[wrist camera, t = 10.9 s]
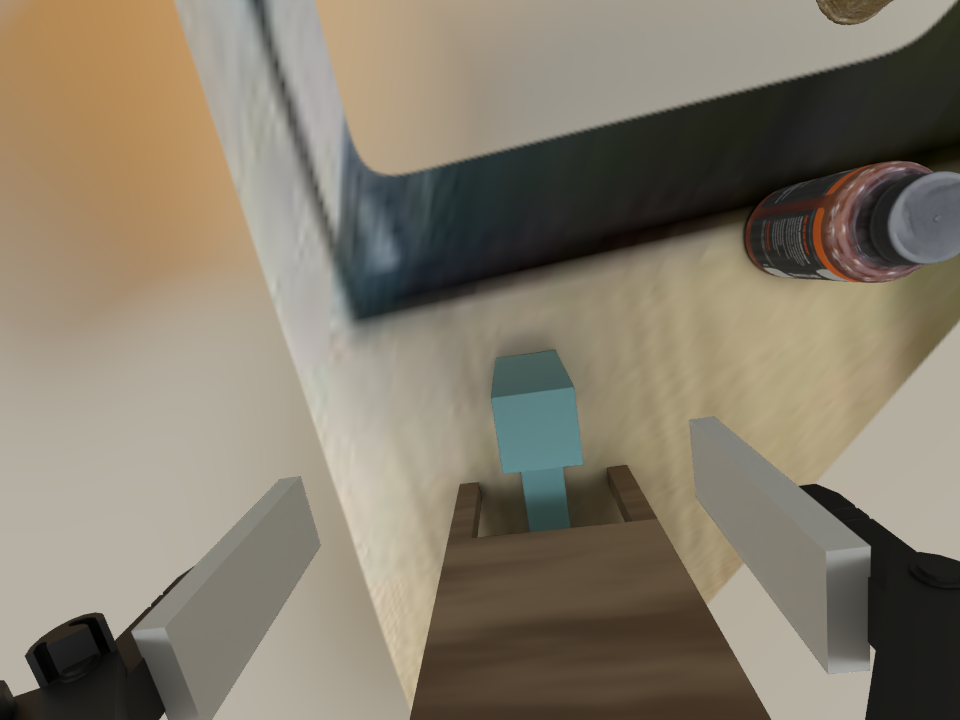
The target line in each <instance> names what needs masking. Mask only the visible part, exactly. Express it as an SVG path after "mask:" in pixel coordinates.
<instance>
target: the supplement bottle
mask: <svg viewBox="0 0 960 720" xmlns="http://www.w3.org/2000/svg"><path fill="white" fill-rule="evenodd" d="M745 239H746V247H747V251H748V253H749V255H750V257H751V259H752V261H753V262H754V263H755V264H756V265H757V266H758V267H759V268H760V269H762V270H763V271H765V272H766V273H769V274H771V275H775V276H779V277H786V278H795V279H796V278H799V279H819V280H832V281H845V282H864V283H877V282H887V281H892V280H896V279H899V278H902V277H905V276H907V275H909V274H911V273H913V272H915V271H916V270H918V269H920V268H921V267H922V266H923V265H924V264H935V263H939V262H942V261H946V260H948V259H950V258H952V257H954V256H955V255H957V254H959V253H960V174H958V173H953V172H948V171H945V172H932V171H931V170H929V169H928V168H926V167H924V166H921V165H919V164H916V163H912V162H904V161H891V162H883V163H878V164H873V165H869V166H865V167H860V168H857V169H853V170H849V171H845V172H841V173H837V174H833V175H830V176H826V177H822V178H818V179H814V180H810V181H806V182H803V183H798V184H795V185H791V186H788V187H785V188H782V189H780V190H778V191H775V192H773V193H772V194H770V195H769V196H767V197H766V198H765V199H764V200H763V201H761V202H760V204H759V205H758V206H757V207H756V209H755V210H754V212H753V213H752V215H751V217H750V219H749V221H748V224H747V227H746V235H745Z"/></svg>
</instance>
